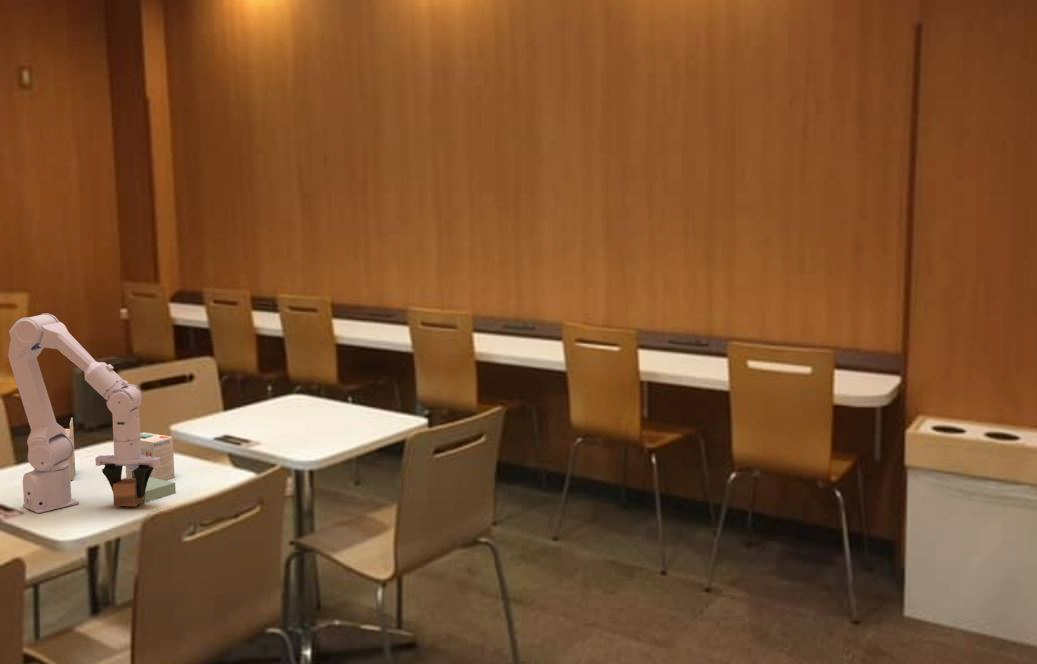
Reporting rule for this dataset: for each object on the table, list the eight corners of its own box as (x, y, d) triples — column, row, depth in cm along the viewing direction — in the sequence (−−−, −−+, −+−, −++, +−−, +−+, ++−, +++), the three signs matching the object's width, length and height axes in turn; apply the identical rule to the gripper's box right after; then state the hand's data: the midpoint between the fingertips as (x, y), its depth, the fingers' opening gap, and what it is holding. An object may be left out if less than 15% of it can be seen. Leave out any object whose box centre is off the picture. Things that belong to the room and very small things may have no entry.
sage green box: (144, 504, 221) (143, 492, 221) (119, 498, 226) (118, 486, 225) (175, 494, 229) (175, 482, 229) (150, 488, 233) (150, 477, 233)
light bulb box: (125, 478, 241) (122, 437, 240) (146, 472, 247) (144, 431, 246) (154, 484, 236) (152, 442, 235) (175, 477, 242) (174, 436, 241)
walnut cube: (135, 506, 216) (134, 485, 215) (113, 505, 216) (112, 484, 216) (145, 499, 221) (144, 478, 220) (124, 499, 221) (123, 478, 221)
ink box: (55, 474, 245) (51, 418, 243) (76, 472, 247) (72, 416, 245) (52, 482, 237) (48, 425, 235) (74, 480, 239) (70, 423, 237)
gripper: (165, 435, 220) (167, 492, 222) (105, 433, 221) (108, 490, 223) (151, 443, 213) (153, 501, 215) (89, 441, 214) (92, 499, 216)
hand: (129, 496), depth 219 cm, fingers closed on walnut cube, 5 cm apart
